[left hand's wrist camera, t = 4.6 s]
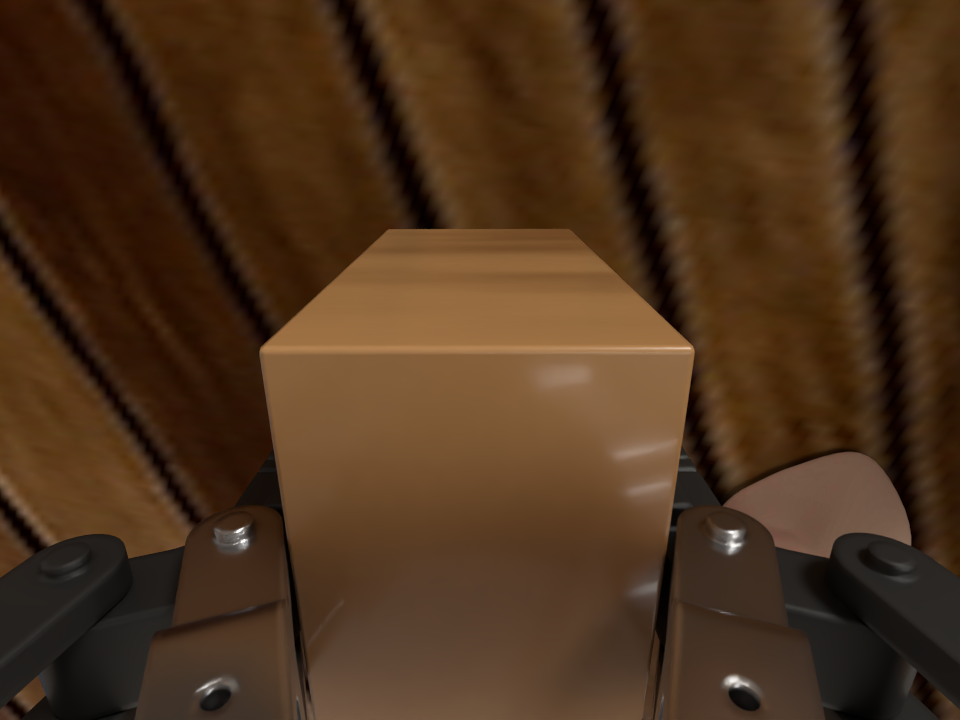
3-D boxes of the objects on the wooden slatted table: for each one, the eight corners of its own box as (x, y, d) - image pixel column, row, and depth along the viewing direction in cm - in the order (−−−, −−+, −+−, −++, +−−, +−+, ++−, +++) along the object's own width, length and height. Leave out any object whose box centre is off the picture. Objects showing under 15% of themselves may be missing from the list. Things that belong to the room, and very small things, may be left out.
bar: (386, 228, 15) (254, 347, 6) (570, 228, 15) (699, 346, 6) (420, 808, 24) (385, 1206, 15) (539, 808, 24) (574, 1205, 15)
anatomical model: (882, 459, 22) (1037, 604, 25) (824, 414, 26) (965, 545, 29) (641, 652, 26) (799, 761, 29) (620, 589, 30) (762, 690, 32)
